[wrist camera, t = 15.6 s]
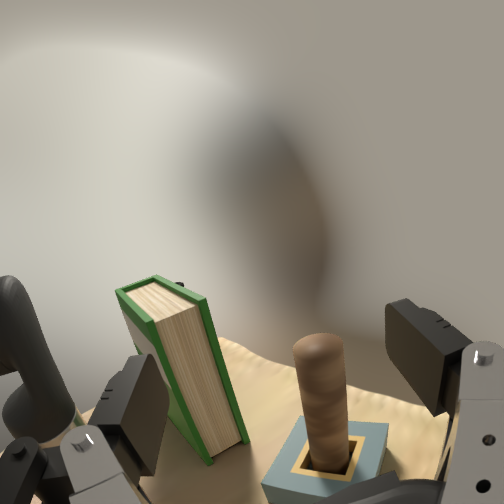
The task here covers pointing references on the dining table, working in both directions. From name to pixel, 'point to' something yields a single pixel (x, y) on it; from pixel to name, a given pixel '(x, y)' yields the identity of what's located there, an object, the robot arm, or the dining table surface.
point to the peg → (324, 400)
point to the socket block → (319, 483)
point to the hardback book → (185, 361)
